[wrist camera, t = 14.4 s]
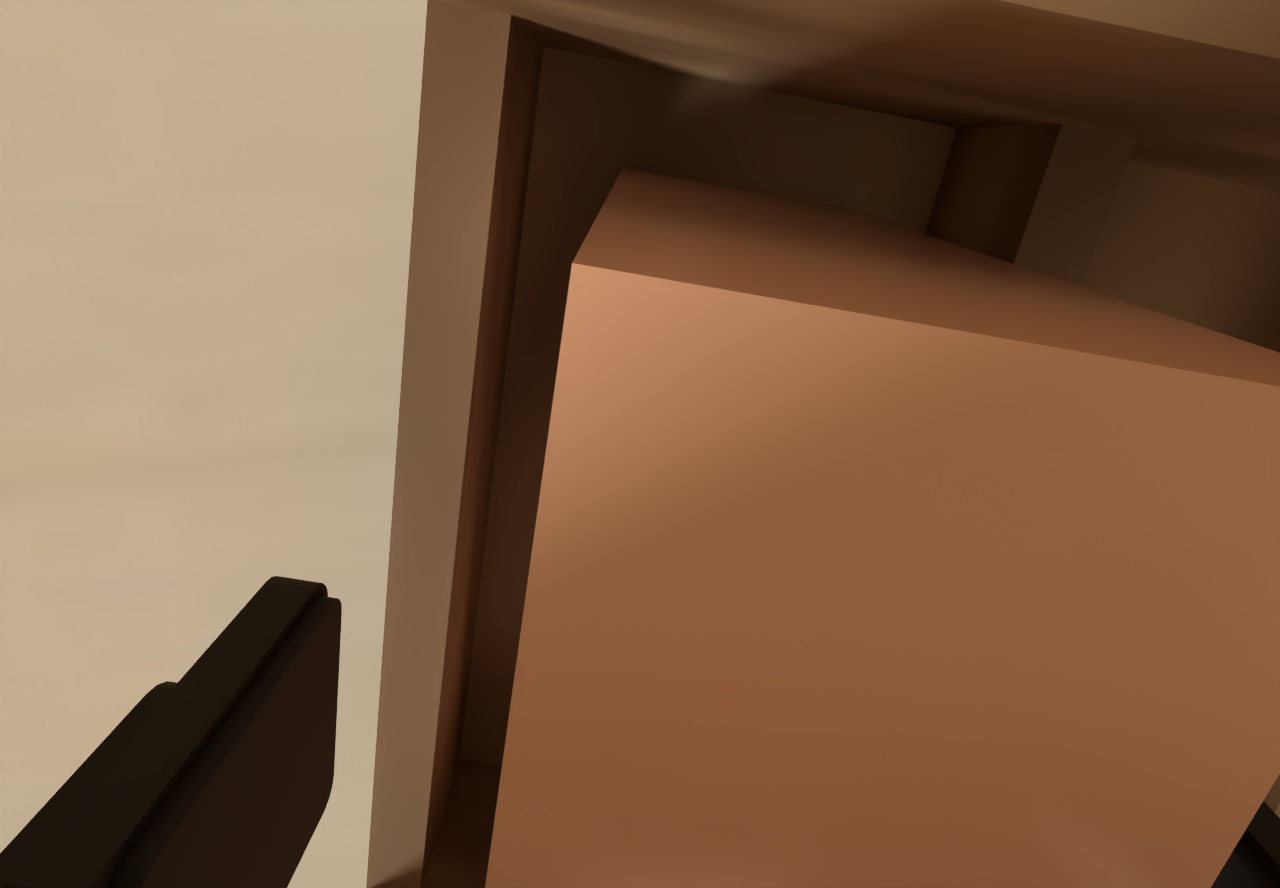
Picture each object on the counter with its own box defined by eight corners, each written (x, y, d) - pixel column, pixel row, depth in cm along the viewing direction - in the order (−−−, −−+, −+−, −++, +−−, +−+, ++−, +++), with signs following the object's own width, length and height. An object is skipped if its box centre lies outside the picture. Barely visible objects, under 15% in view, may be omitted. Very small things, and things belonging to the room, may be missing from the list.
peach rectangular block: (849, 209, 14) (1490, 425, 3) (709, 745, 18) (804, 1556, 8) (623, 167, 13) (572, 263, 3) (536, 721, 18) (395, 1528, 7)
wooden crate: (1424, 163, 14) (2894, 208, 5) (1076, 844, 20) (1444, 1437, 11) (499, -24, 13) (163, -416, 4) (423, 756, 19) (222, 1332, 10)
